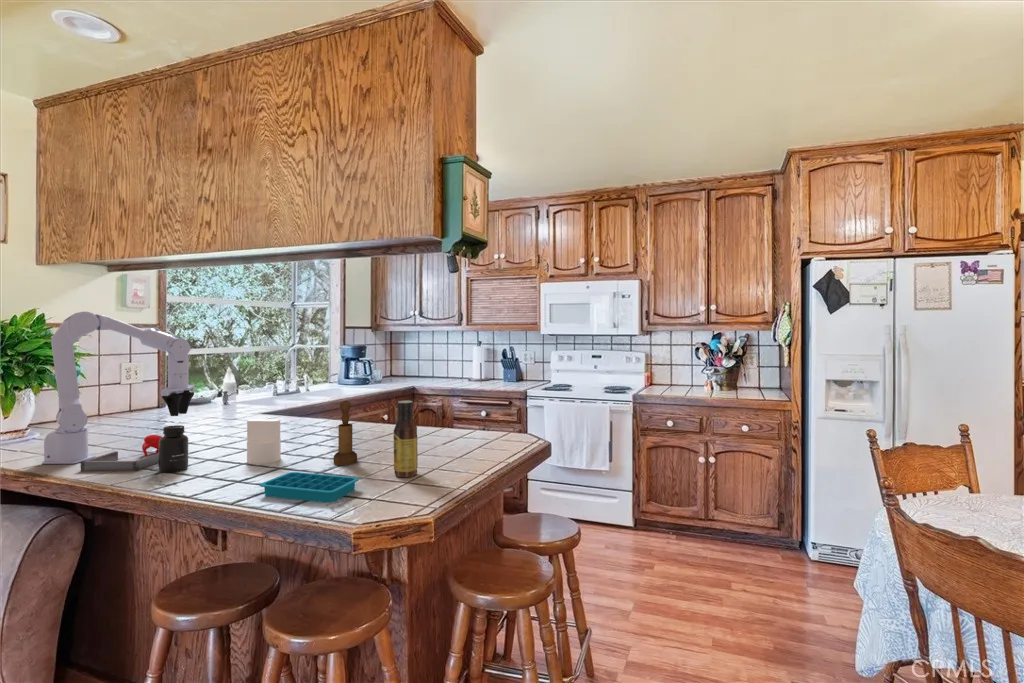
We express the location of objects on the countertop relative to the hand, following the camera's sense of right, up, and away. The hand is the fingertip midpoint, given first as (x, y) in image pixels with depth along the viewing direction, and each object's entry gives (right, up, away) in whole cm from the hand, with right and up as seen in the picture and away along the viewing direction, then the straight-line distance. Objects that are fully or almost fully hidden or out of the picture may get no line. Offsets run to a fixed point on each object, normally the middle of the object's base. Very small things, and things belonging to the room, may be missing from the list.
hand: (178, 414), depth 166 cm
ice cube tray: (+63, -12, -47) cm, 80 cm away
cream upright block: (+37, -11, -18) cm, 43 cm away
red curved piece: (0, -11, -11) cm, 15 cm away
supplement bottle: (+18, -11, -28) cm, 35 cm away
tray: (+1, -11, -23) cm, 26 cm away
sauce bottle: (+83, -12, -33) cm, 90 cm away
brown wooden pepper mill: (+63, -11, -20) cm, 67 cm away
